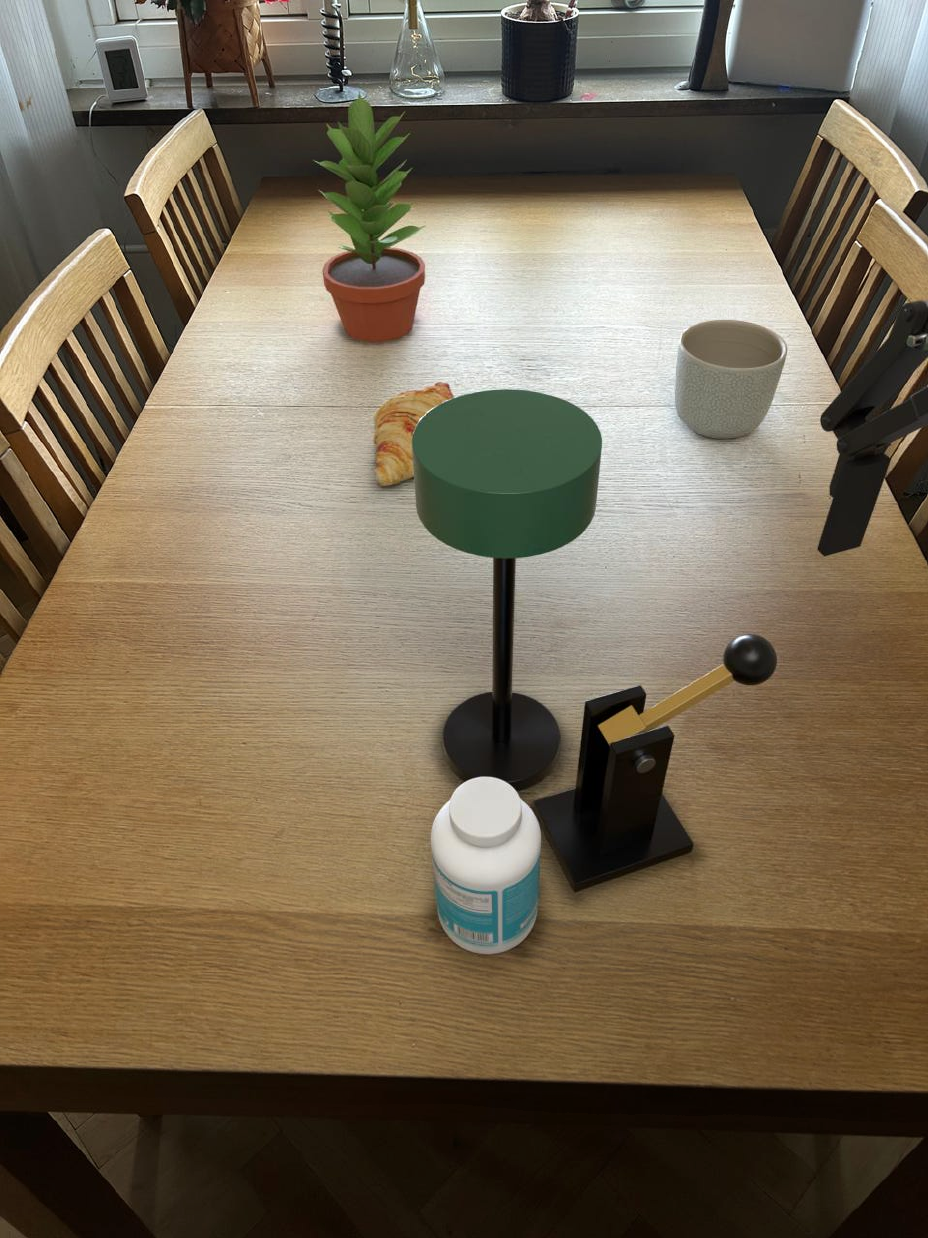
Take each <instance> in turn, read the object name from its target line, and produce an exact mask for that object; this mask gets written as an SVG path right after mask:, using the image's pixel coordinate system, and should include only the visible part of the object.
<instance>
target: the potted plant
mask: <svg viewBox="0 0 928 1238" xmlns="http://www.w3.org/2000/svg"><path fill="white" fill-rule="evenodd" d="M373 112H374V111H373V109H372V105H371V104H370V102H369V101H367V100H365V99H363V97H362V95H361V91H358V96H357V99H355V100H353V101H352V102H351V103H350V104H349V106H348V112H347V115H348V116H347V118H348V119H347V120H348V121H347V122H348V127H345V126H344V125H342V123H340V121H337V124H338V128H332V127H331V126H330V125H329V124H328V123H327V122H326V123H325V124H326V126H327V129H328V131H327V136H328V138H329V139H330V141H331V142H332V143H333V145H334V146H335V147H336V149H337V150H338V152H339V153H340V155H341V157H342V159H341V160H340V161H338V163H337V162H334V161H330V160H323V161H320V162H319V161H316V160H315V159H312V161H313V162H315V163H317V164H319V165H320V166H321V167H323V168H325V169H327V170H328V171H330V172H331V173H333V174H335V175H337V176H339V177H340V178H342V179H344V182H345V184H344V185H345V187H344V189H345V192H346V195H347V196H348V198H347V197H346V196H344V195H342V194H340V193H338V192H335V191H327V192H323V191H321V190H320V189H318V192H320V194H322V195H323V196H324V197H325V198H326V199H327V201H330V202H331V203H332V204H334V205H335V206H336V208H339V209H340V210H341V211H343V212H344V213H343V212H340V213H333V212H331V211H330V210H327V212H328V213H329V214H330V220H331V221H332V222H333V223H334V224H336V225H337V226H338V227H339V228H340V229H341V230H343V231H344V232H345V233H346V234H347V235H349V237H350V240H351V242H352V246H353V247H354V248H352V247H349V246H346V245H339V246H338V248H339V249H340V250H341V249H342V250H345V251H343V252H340V253H339V254H336V255H334V256H332V257H330V258H329V259H328V260H327V261H326V262H324V265H323V267H322V270H321V271H322V281H323V285H324V288H325V290H326V292H328V293H329V294H330V295H331V297H332V300H333V302H334V303H333V304H334V306H335V308H336V310H337V313H338V317H339V318H340V321H341V323H342V326H343V328H344V331H345V334H346V335H348V336H349V337H350V338H352V339H355V340H357V341H359V342H367V343H384V342H385V343H386V342H392V341H395V340H398V339H401V338H403V337H404V336H406V335H409V334H410V332H411V331H412V329H413V327H414V321H415V316H416V311H417V306H418V301H419V297H420V293H421V288H422V287H423V286H424V285H425V284H426V283H425V282H426V263H425V262H424V260H423V259H422V257H421V256H419V255H417V254H416V253H414V252H413V251H409V250H406V249H403V248H399V247H398V248H397V247H392V246H395V245H397V244H399V243H400V242H402V241H404V240H406V239H408V238H410V237H413V236H415V235H416V234H417V233H419V232H420V231H421V230H422V229H423V228H425V227H427V224H426V225H422V226H420V227H418V226H416V225H407V226H403V227H400V228H399V229H396V230H394V231H392V232H390V233H388V234H386V235H384V234H385V233H386V232H388V231H389V230H391V228H392V227H393V226H394V225H395V224H397V223H398V222H399V221H400V220H401V219H403V218H404V216H406V215H407V213H409V212H410V211H411V210H412V206H413V205H414V203H415V202H416V199H415V200H413V201H412V202H410V203H396V204H395V202H396V200H395V201H393V202H392V201H391V199H392V198H393V196H394V195H395V194H396V192H397V191H398V190H399V188H400V187H401V186H402V181H403V180H404V179H405V178H406V177H407V175H408V174H409V173H410V172H411V171H412V170H413V167H410V168H409V169H408V170H406V171H402V170H401V171H400V169H401V168H402V167H403V166H404V165H405V163H406V160H404V161H403V162H402V163H401V164H400V165H399V166H397V167H396V168H395V169H393V170H392V171H391V172H390V173H389V174H388V175H387V176H386V177H385V178H384V179H383V180H381V182H379V184H377V183H378V175H377V169H379V168H380V167H381V165H383V163H384V162H385V161H386V160H387V159H388V158H389V157H390V156H391V155H392V154H393V153H394V152H395V151H396V150H397V149H398V148H399V147H400V145H401V144H402V143H404V141H405V140H406V139H407V138H408V136H409V135H410V134H411V132H409V133H408V134H407V135H405V136H404V137H403V136H394V137H392V138H391V139H390V140H388V141H386V139H387V138H388V137H389V135H390V134H391V133H392V131H393V130H394V128H395V127H396V125H397V124H398V122H400V120H401V119H402V117H403V116H404V114H405V113H406V111H403V112H402V114H401V115H400V116H397V115H396V116H392V117H389V118H388V119H386V121H385V122H384V123H383V124H381V127H380V128H379V129H378V130H377V131H376V133H375V122H374V121H375V119H374V113H373ZM385 141H386V143H384V142H385ZM383 144H384V145H383ZM394 204H395V205H394ZM383 235H384V237H383ZM381 237H382V238H381ZM379 238H381V239H379Z"/></svg>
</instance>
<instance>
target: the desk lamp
mask: <svg viewBox="0 0 928 1238" xmlns="http://www.w3.org/2000/svg"><path fill="white" fill-rule="evenodd" d="M602 449H603V438H602V432H601V431H600V428H599V426H598V424H597V423H596V422H595V420H594V418H592V417H591V416H590V415H589V414H588V413H587V412H586V411H585V410H583V408H580V407H579V406H577V405H575V404H574V403H573V402H570V401H568V400H566V399H563V398H560V397H558V396H555V395H552V394H548V393H545V392H540V391H536V390H528V389H517V388H495V389H484V390H479V391H473V392H468V393H465V394H464V393H463V394H461V395H458V396H454V398H452V399H450V400H447V401H445V402H443V403H441V404H439V405H437V406H436V407H434V408H433V409H431V410H430V411H429V412H427V413H426V414H425V415H424V416H423V417H422V418H421V420H420V421H419V422H418V424H417V425H416V427H415V429H414V432H413V436H412V454H413V469H414V477H413V483H414V497H415V498H414V500H415V508H416V514H417V517H418V518H419V521H420V522H421V524H422V525H423V527H424V528H425V529H426V531H428V533H429V534H430V535H432V536H433V537H434V538H435V539H437V540H438V541H439V542H441V543H443V544H445V545H446V546H448V547H451V548H452V549H455V550H456V551H460V552H463V553H466V554H469V555H474V556H477V557H483V558H490V559H492V666H491V667H492V669H491V670H492V672H491V673H492V674H491V677H492V678H491V679H492V680H491V682H492V685H491V688H492V689H491V691H485V692H482V693H478V694H476V695H473V696H471V697H469V698H467V699H465V700H463V701H462V702H461V703H459V704H458V705H457V706H456V707H455V708H453V710H452V711H451V712H450V713H449V715H448V716H447V719H446V721H445V723H444V726H443V731H442V748H443V754H444V758H445V762H446V763H447V765H448V767H449V769H450V770H451V771H452V772H453V774H454V775H455V776H456V777H457V778H458V779H460V780H461V781H463V783H464V782H466V781H468V780H470V779H474V778H477V777H493V778H497V779H500V780H503V781H505V782H506V783H508V784H509V785H511V786H512V787H513V788H514V789H515V790H516V792H517V793H518V792H520V791H524V790H527V789H530V788H531V787H533V786H535V785H537V784H539V783H540V782H542V781H543V780H544V779H545V778H547V776H549V774H550V773H551V772H552V771H553V769H554V768H555V766H556V764H557V762H558V759H559V755H560V749H561V730H560V727H559V724H558V722H557V720H556V718H555V717H554V715H553V713H552V712H551V711H550V710H549V709H548V708H547V707H546V706H545V704H543V703H541V702H539V700H537V699H535V698H533V697H531V696H529V695H526V694H523V693H519V692H515V691H513V676H514V675H513V674H514V673H513V671H514V641H515V639H514V638H515V637H514V636H515V605H516V604H515V601H516V569H517V567H516V565H517V559H523V558H530V557H536V556H540V555H543V554H547V553H550V552H553V551H556V550H559V549H560V548H563V547H565V546H567V545H568V544H570V543H572V542H574V541H575V540H576V539H577V538H579V537H580V536H581V535H582V534H583V533H584V532H585V531H586V530H587V529H588V528H589V526H590V524H592V521H593V519H594V517H595V513H596V510H597V509H596V508H597V501H598V500H597V499H598V490H599V481H600V469H601V459H602Z"/></svg>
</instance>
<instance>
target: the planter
mask: <svg viewBox="0 0 928 1238" xmlns="http://www.w3.org/2000/svg"><path fill="white" fill-rule="evenodd" d="M676 354H677V355H676V363H675V364H676V365H675V379H674V407H675V411H676V413H677V415H678V417H679V419H680V421H681V422H682V423H683V424H684V425H685V426H686V427H687V428H689V429H690V430H691V431H693V432H695V433H696V434H699V435H701V436H704V437H707V438H712V439H720V440H729V439H734V438H739V437H741V436H744V435H747V434H749V433H751V432H752V431H754V430H756V429H757V428H758V427H759V426H760V425H761V424H762V423H763V422H764V420H765V418H766V416H767V415H768V413H769V410H770V408H771V406H772V404H773V403H772V402H773V401H774V397H775V395H776V391H777V389H778V386H779V382H780V381H781V376H782V373H783V370H784V367H785V364H786V363H785V362H786V359H787V355H788V345H787V342H786V341H785V340H784V338H783V337H782V336H780V335H779V334H778V333H776V332H775V331H773V330H772V329H770V328H767V327H765V326H763V325H760V324H756V323H753V322H749V321H744V320H737V319H712V320H706V321H702V322H698V323H695V324H692V325H691V326H689V327H687V328H686V329H685V330H684V331H683V332H682V333H681V335H680V336H679V340H678V347H677V353H676Z"/></svg>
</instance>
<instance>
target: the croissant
mask: <svg viewBox="0 0 928 1238" xmlns="http://www.w3.org/2000/svg"><path fill="white" fill-rule="evenodd" d="M452 398H455V395H454V394H453V392H452V390H451V385H450V384H449V382H442V381H437V382H436V383H434V385H430V386H426V387H424V388H423V389H413V390H408V391H404V392H400V393H398V394H396V395H394V396H392V397H390V398H389V399H387V400H386V401H385V402H384V403H382V404H381V406H380V407H379V408H378V409H377V410H376V412H375V413H374V415H373V428H374V430H375V431H374V436H373V444H374V445H375V446H376V452H375V455H374V461H375V462H376V468H375V470H374V474H375V480H376V482H377V483H378V484H379V485H380V486H382V487H383V486H384V487H388V486H393V485H397V484H399V483H401V482H403V481H407V480H410V479H412V478H414V469H413V454H412V436H413V432H414V429H415V427H416V425H417V424H418V422H419V421H420V420H421V418H422V417H423V416H424V415H425V414H426V413H427V412H429V411H430V410H431V409H433V408H434V407H436V406H437V405H439V404H441V403H443V402H445V401H447V400H450V399H452Z"/></svg>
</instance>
